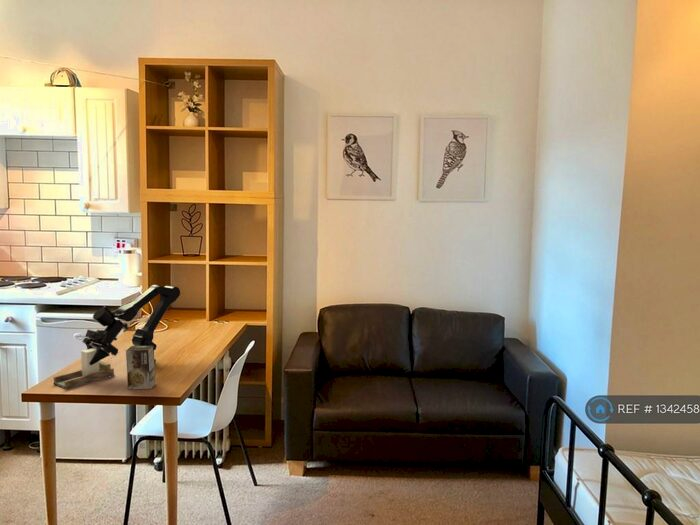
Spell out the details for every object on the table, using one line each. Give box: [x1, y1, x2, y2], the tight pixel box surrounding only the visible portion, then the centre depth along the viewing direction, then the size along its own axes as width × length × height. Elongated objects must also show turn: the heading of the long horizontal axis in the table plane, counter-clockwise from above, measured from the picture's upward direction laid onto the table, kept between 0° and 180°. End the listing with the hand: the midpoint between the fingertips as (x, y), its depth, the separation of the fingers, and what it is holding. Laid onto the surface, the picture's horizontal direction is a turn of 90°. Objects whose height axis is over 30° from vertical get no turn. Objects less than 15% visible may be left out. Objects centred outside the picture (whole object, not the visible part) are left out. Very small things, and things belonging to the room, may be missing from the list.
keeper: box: [80, 348, 99, 376], centre depth 214 cm, size 5×4×11 cm
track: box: [53, 360, 115, 390], centre depth 212 cm, size 20×10×5 cm, turn 146°
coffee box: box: [125, 345, 156, 390], centre depth 204 cm, size 9×6×16 cm
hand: (87, 363), depth 213 cm, fingers closed on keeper, 4 cm apart
